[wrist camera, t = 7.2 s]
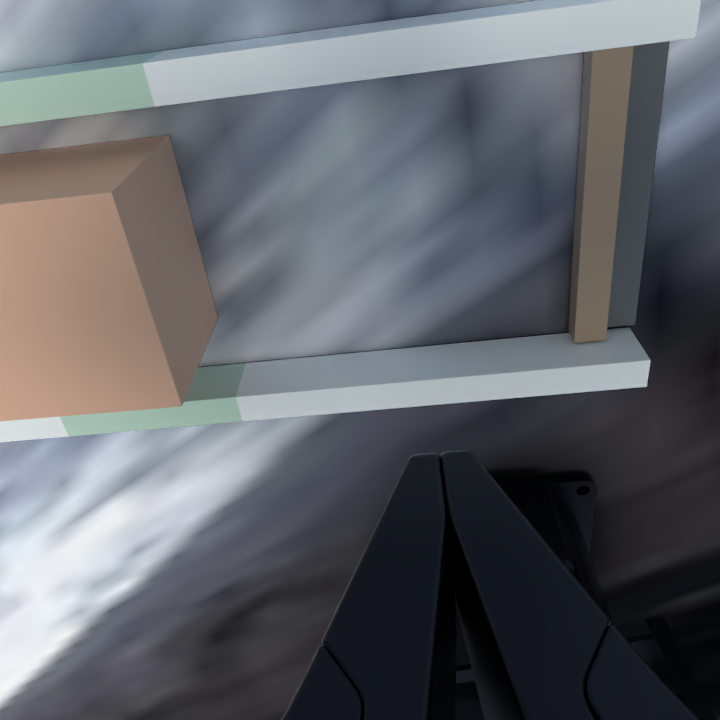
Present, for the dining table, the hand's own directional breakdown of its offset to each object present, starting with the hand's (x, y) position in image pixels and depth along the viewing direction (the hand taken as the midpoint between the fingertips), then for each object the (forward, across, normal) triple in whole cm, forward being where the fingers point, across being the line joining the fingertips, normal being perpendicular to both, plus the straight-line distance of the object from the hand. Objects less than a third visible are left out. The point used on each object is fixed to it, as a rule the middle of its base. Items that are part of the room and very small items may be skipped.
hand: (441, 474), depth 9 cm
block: (+12, +10, 0) cm, 16 cm away
